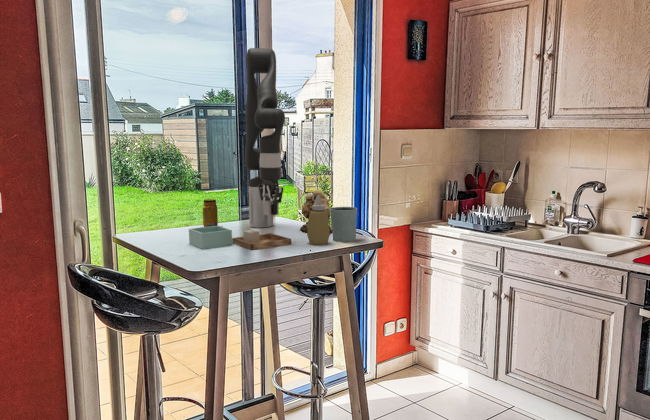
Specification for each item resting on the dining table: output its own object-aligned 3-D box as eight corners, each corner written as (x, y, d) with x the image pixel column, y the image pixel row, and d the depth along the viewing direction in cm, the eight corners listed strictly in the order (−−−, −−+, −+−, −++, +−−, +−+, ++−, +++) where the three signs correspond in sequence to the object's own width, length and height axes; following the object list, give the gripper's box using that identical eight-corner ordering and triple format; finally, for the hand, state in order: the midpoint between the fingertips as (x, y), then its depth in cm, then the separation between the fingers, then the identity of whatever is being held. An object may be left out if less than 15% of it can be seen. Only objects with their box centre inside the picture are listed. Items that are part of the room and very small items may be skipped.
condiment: (203, 226, 235) (202, 198, 233) (223, 226, 236) (222, 198, 235) (201, 229, 228) (201, 200, 226) (222, 228, 229) (221, 200, 228)
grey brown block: (272, 213, 199) (272, 199, 198) (278, 214, 196) (278, 200, 195) (263, 214, 197) (263, 200, 196) (268, 215, 193) (268, 201, 193)
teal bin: (218, 241, 202) (217, 225, 201) (232, 246, 193) (231, 230, 192) (189, 245, 195) (188, 228, 195) (202, 250, 187) (201, 233, 186)
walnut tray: (271, 239, 205) (270, 233, 205) (291, 246, 194) (291, 238, 194) (232, 245, 196) (232, 237, 196) (251, 251, 185) (251, 244, 184)
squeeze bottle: (303, 246, 194) (303, 195, 191) (312, 242, 201) (311, 193, 199) (325, 247, 191) (325, 196, 189) (332, 243, 199) (332, 194, 196)
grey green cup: (355, 243, 200) (355, 210, 198) (328, 242, 201) (328, 209, 200) (358, 237, 210) (358, 206, 208) (332, 236, 211) (332, 206, 210)
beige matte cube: (252, 243, 195) (252, 229, 195) (259, 245, 193) (259, 231, 192) (243, 245, 193) (243, 231, 192) (250, 247, 190) (250, 232, 189)
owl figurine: (291, 229, 228) (291, 188, 225) (315, 227, 234) (315, 187, 232) (315, 236, 213) (315, 192, 211) (340, 233, 219) (340, 190, 217)
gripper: (290, 166, 190) (290, 215, 193) (269, 164, 201) (269, 210, 204) (271, 167, 186) (272, 217, 188) (251, 165, 197) (251, 212, 200)
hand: (270, 213), depth 196 cm, fingers closed on grey brown block, 4 cm apart
